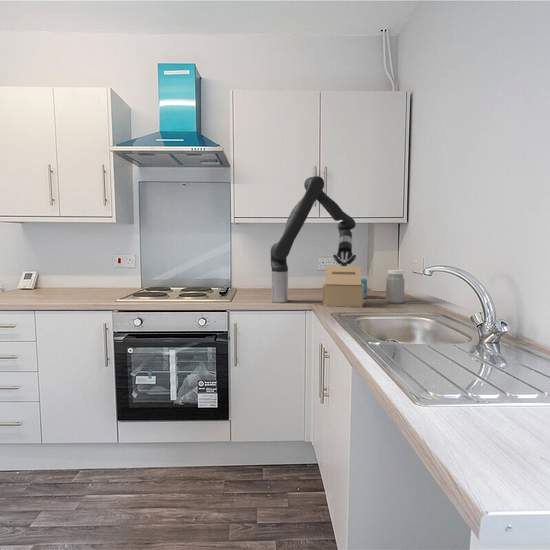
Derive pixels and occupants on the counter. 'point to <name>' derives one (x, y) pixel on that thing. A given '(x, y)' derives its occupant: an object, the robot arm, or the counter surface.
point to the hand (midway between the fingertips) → (343, 268)
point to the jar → (395, 286)
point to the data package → (364, 281)
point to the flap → (343, 275)
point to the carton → (343, 295)
